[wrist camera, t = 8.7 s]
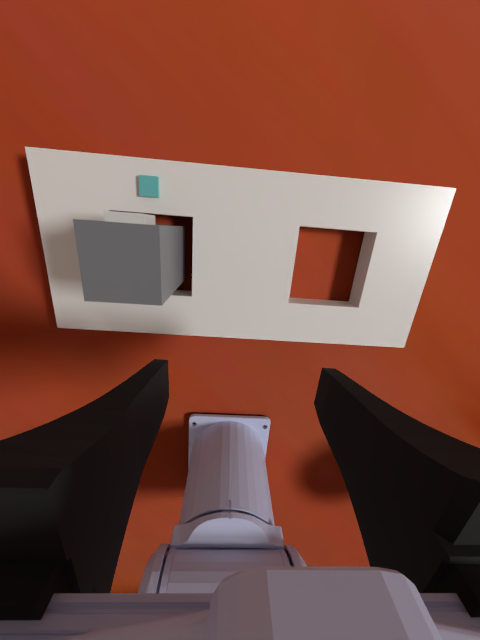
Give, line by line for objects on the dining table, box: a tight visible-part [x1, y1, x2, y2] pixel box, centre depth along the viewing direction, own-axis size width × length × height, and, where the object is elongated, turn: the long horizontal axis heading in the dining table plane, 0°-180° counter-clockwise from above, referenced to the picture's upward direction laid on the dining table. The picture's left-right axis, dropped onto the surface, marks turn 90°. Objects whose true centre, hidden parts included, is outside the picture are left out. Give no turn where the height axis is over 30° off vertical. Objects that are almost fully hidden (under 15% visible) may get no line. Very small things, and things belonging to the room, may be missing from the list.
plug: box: [73, 211, 185, 306], centre depth 16 cm, size 4×4×8 cm
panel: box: [25, 147, 456, 348], centre depth 19 cm, size 12×28×2 cm, turn 86°
